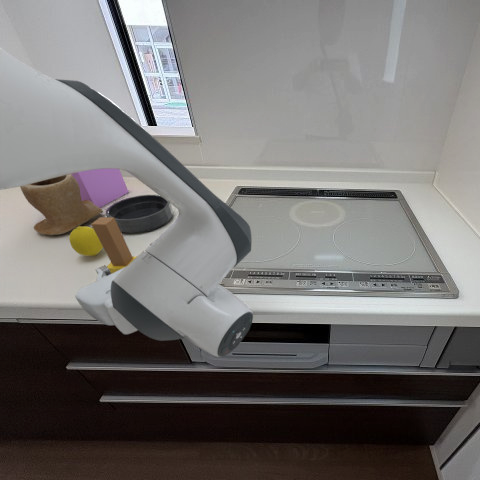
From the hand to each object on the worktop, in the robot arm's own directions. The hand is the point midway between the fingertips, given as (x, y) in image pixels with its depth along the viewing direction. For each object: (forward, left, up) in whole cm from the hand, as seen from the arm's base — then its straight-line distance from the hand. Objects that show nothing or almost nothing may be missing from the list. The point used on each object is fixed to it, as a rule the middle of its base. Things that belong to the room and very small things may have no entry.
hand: (129, 256), depth 50 cm
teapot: (-37, +41, -8) cm, 56 cm away
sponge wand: (-5, +3, -8) cm, 10 cm away
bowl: (-14, +27, -8) cm, 31 cm away
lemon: (-17, +10, -8) cm, 21 cm away
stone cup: (-31, +24, -8) cm, 40 cm away
